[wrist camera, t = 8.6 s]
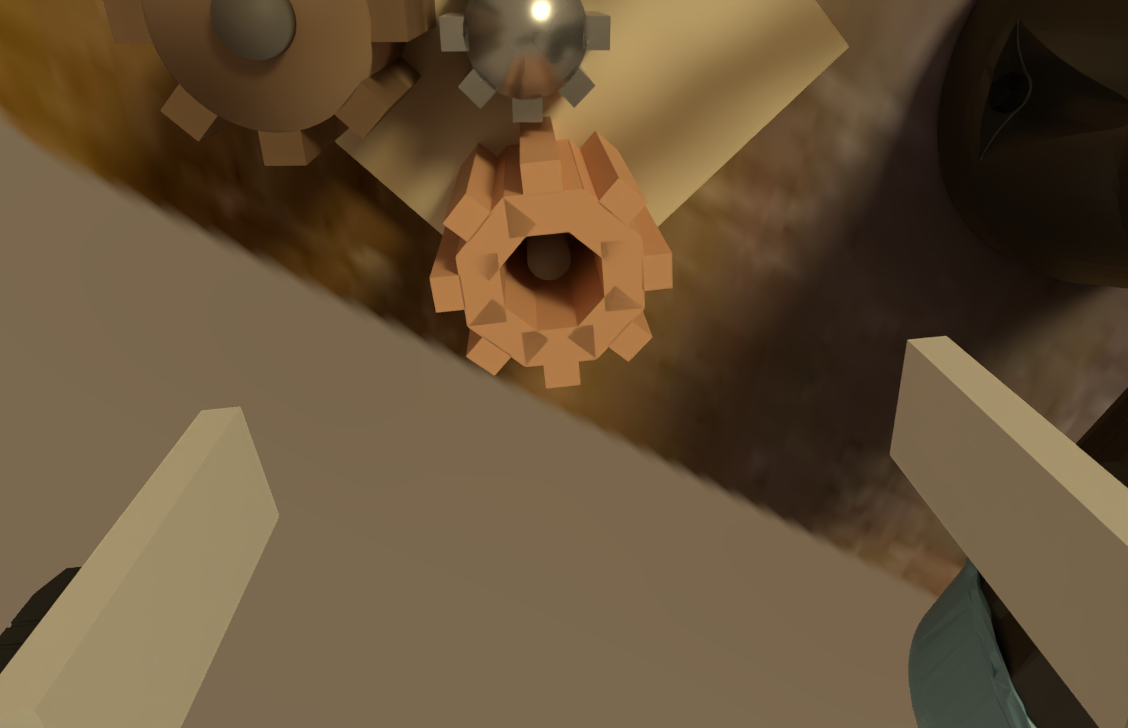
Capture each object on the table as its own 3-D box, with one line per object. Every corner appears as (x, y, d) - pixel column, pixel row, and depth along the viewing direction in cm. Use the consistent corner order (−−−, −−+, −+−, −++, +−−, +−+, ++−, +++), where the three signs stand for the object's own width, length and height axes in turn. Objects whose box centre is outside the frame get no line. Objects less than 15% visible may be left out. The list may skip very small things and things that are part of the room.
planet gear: (633, 107, 26) (670, 148, 19) (641, 290, 29) (674, 374, 23) (436, 127, 26) (409, 175, 19) (466, 309, 29) (452, 398, 23)
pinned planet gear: (479, 7, 24) (464, 17, 17) (348, 162, 26) (289, 225, 19) (299, -182, 21) (198, -256, 14) (170, 8, 23) (30, 20, 17)
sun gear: (626, 25, 24) (645, 33, 21) (527, 132, 26) (528, 156, 22) (521, -96, 22) (522, -110, 19) (421, 26, 24) (404, 34, 20)
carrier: (832, 43, 26) (919, 60, 21) (548, 313, 31) (554, 389, 25) (487, -423, 20) (475, -584, 14) (194, 2, 25) (96, 9, 19)
